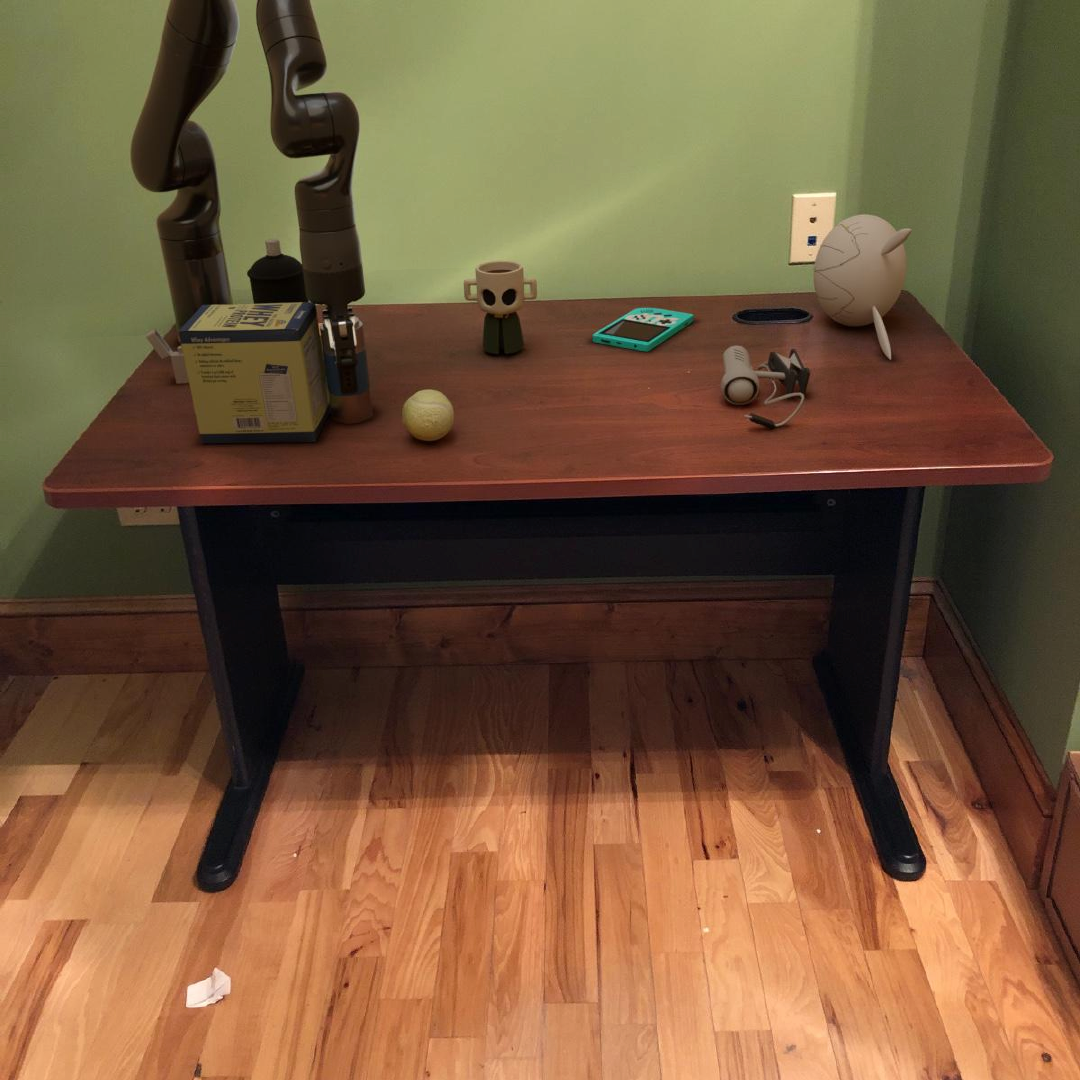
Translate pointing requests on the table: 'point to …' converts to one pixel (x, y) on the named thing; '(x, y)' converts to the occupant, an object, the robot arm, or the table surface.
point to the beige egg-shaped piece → (861, 272)
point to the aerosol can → (277, 277)
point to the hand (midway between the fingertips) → (346, 381)
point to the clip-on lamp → (744, 381)
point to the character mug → (501, 303)
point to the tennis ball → (428, 415)
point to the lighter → (166, 351)
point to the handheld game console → (643, 328)
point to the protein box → (256, 372)
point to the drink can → (342, 405)
